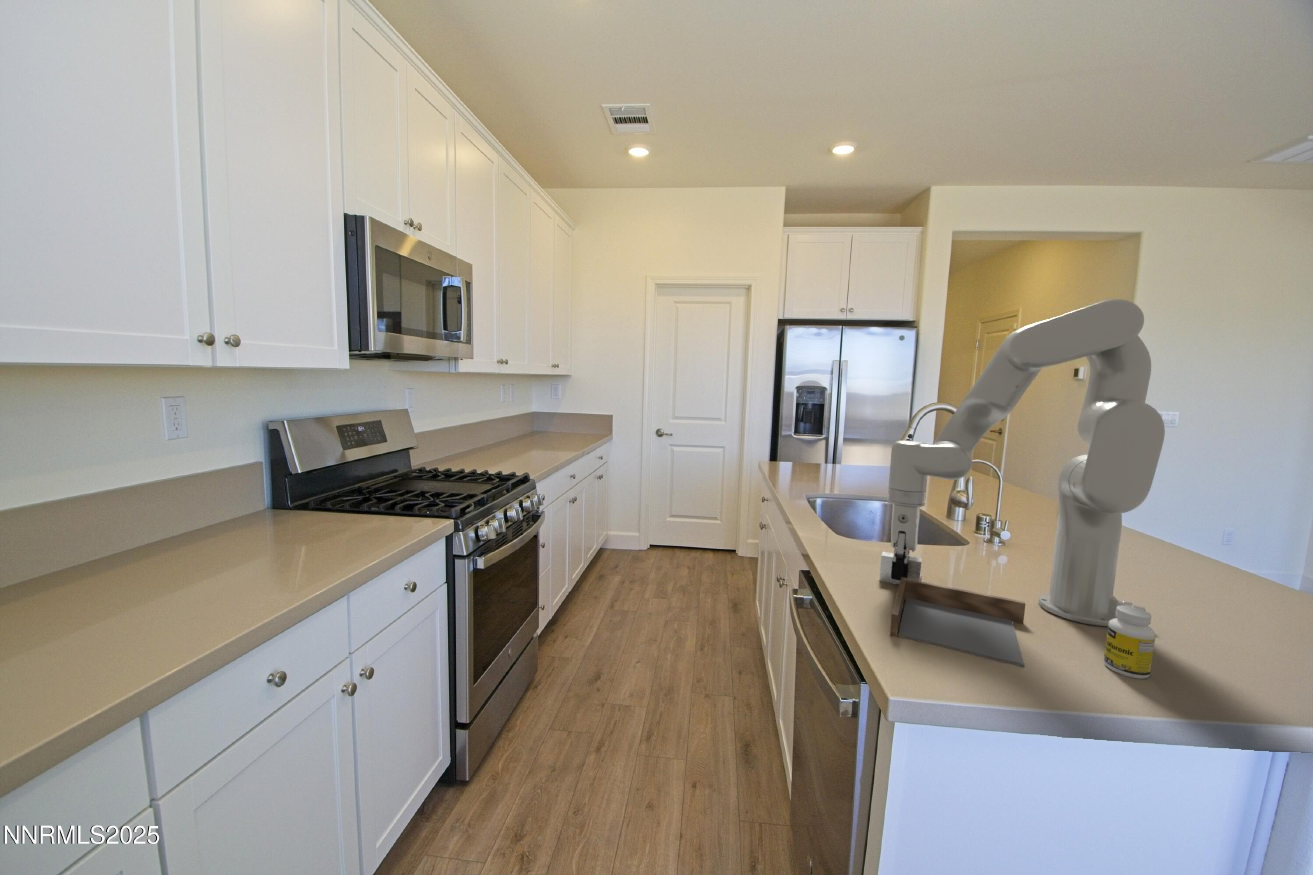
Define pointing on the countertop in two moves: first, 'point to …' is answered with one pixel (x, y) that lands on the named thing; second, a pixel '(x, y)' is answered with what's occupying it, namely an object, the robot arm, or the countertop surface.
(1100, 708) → the countertop surface
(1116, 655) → the supplement bottle
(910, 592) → the walnut corner walls
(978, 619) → the slate mat
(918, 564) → the aluminium bracket
